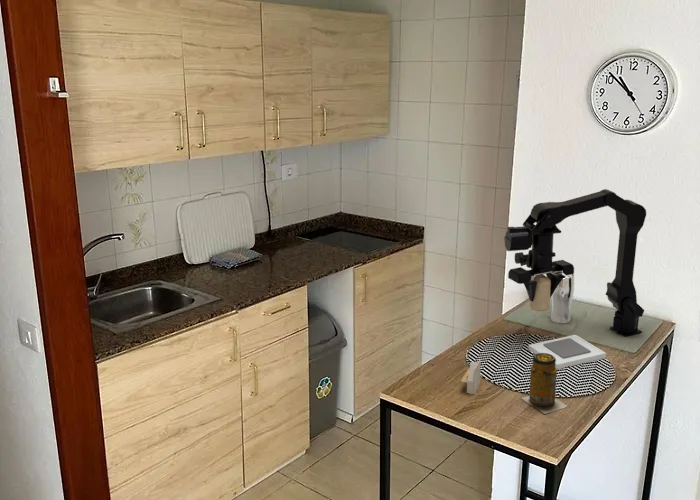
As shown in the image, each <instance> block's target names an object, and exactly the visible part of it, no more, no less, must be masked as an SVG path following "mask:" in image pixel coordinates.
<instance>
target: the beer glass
mask: <svg viewBox="0 0 700 500" xmlns="http://www.w3.org/2000/svg"><path fill="white" fill-rule="evenodd" d="M562 275H564V276H565V278H563V279H562V281H561V282H560V283H559V285H558V286H557V288H556V289H555V291H554V293H553V294H552V296H551V298H550V301H551V306H552V307H551V314H550V321H552V322H553V323H557V324H568V323H570V322H571V306H572V302H573V298H574V292H575V274H571V275H565V274H564V273H563V271H562Z"/></svg>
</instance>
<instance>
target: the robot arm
mask: <svg viewBox="0 0 700 500" xmlns="http://www.w3.org/2000/svg"><path fill="white" fill-rule="evenodd" d="M605 207H608V208H610V209H612V210H614V211H615V220H616V224H617V227H618V230H619V235H618V236H619V237H618V246H617V247H618V248H617V255H616V267H615V276H614V278H613V280H612V281H611V282H608V281H607V283H606V292H605V296H606V297H607V300H608V301H609V302H610V303H611V304H612V307H613V308H615V309H616V311H615V312H614V317H613V322H612V326H611V325H610V326H609V329H610V330H612V331H613V332H616V333H617V334H619V335H621V336H623V337H629V336H632V335H636V334H641V333H642V330H640V329H639V328H638V327H639V321H640V317H642V316H643V315H644V312H645V309H644V308H643V307H642V306H640V304H638V300H637V298H638V296H637V289H636V287H635V284H634V271H635V262H636V254H637V253H636V252H637V242H638V234H639V233H640V232H641V230H642V228H643V227H644V224H645V220H646V217H647V210H646V208H645V207H644V206H643V205H641V204H639V203H637V202H635V201H633V200H631V199H624V198H623V197H620V196H619V195H617V193H615V192H614V191H611V190H609V189H607V188H606V189H602V190H600V191H596V192H593V193H590V194H587V195H586V194H585V195H581V196H578V197H574V198H572V199H568V200H564V201H558V202H555V201H548V202H538V203H536V204H534V205H533V207H532V208H531V211H530V214H528V217H526V219H525V220H524V222H523V223H522V226H508V227H507V230H506V232H505V234H504V239H503V240H504V246H505V247H504V248H505V249H506V251H507V252H515V251H516V252H515V253H514V263H515V264H520V267H516V268H511V269H509V271H508V275H507V277H508V279H510V281H513V282H515V283H517V284H518V285H521V284H522V285H524V287H525V291H526V293H527V295H528V298H529V302H530V301H533V300H534V296H535V291H536V285H537V282H536V281H534V277H535V276H537V275H542V274H543V275H545V276H546V277H547V278H549V279H550V280H551V288H550V299H551V296H552V294H553V293H554V291H555V289H556V288H557V286H558V285H559V283H560V282H561V281H562V279H563V278H565V276H564V275H562V271H563V273H564V274H565V275H571V274H574V273H575V266H574V265H573V264H572V263H570V262H568V261H566V260H564V259H559V260H555V261H553V258H555V257H556V252H554V250H553V249H554V234H561V233H562V230H561V229H560V228H558V226H557V225H558V224H560V223H562V222H563V221H564V220H566V219H567V218H570V217H572V216H573V217H574V216H576V215H580V214H583V213H587V212H590V211H595V210H599V209H601V208H605ZM535 223H536V224H535ZM526 250H528V253H527V254H524V252H523V251H526ZM518 251H519V252H518ZM520 251H522V252H520ZM523 266H526V268H528V269H525V268H523ZM574 275H575V274H574Z"/></svg>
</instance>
